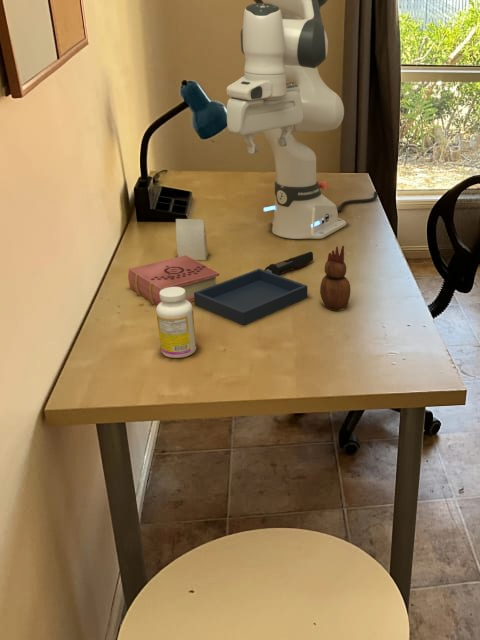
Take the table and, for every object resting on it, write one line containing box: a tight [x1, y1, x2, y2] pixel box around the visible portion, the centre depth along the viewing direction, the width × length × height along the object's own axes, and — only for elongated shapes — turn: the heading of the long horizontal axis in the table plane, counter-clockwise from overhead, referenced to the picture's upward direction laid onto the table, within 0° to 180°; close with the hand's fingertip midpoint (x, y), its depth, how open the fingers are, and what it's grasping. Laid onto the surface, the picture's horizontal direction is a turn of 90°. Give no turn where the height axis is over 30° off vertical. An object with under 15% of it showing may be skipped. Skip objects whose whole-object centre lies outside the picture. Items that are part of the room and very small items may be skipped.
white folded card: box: [175, 218, 209, 261], centre depth 189 cm, size 4×7×10 cm, turn 95°
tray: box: [194, 268, 309, 326], centre depth 168 cm, size 20×16×3 cm
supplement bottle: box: [155, 287, 197, 359], centre depth 144 cm, size 7×7×13 cm
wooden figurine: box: [319, 245, 352, 311], centre depth 165 cm, size 7×6×15 cm
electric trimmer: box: [264, 251, 314, 276], centre depth 186 cm, size 4×16×3 cm, turn 143°
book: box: [127, 255, 220, 307], centre depth 171 cm, size 14×15×5 cm
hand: (268, 149), depth 169 cm, fingers open, 8 cm apart
